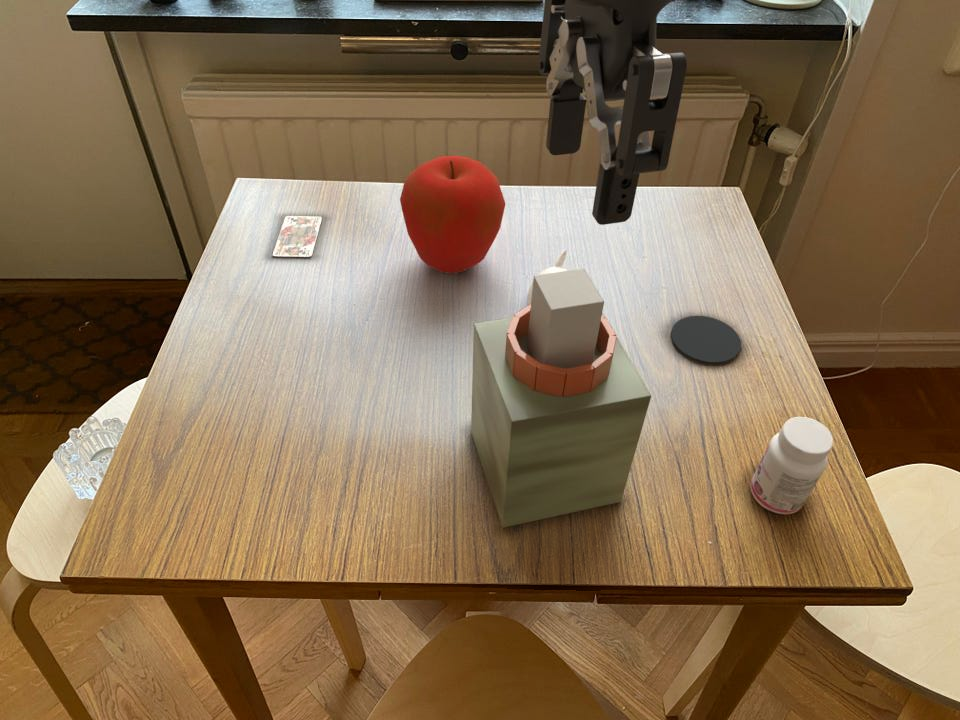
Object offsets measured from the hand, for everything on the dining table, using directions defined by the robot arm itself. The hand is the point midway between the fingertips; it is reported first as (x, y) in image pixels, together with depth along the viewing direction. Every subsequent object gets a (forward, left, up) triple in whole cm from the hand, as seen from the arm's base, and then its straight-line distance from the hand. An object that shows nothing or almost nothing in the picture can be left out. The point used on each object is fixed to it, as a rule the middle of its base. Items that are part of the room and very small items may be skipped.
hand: (584, 183), depth 45 cm
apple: (+32, +1, -30) cm, 44 cm away
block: (0, 0, -15) cm, 16 cm away
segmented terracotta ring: (0, 0, -15) cm, 16 cm away
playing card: (+42, +19, -30) cm, 55 cm away
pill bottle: (-8, -19, -30) cm, 36 cm away
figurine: (+20, -8, -30) cm, 37 cm away
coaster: (+12, -23, -30) cm, 39 cm away
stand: (0, 0, -30) cm, 30 cm away
